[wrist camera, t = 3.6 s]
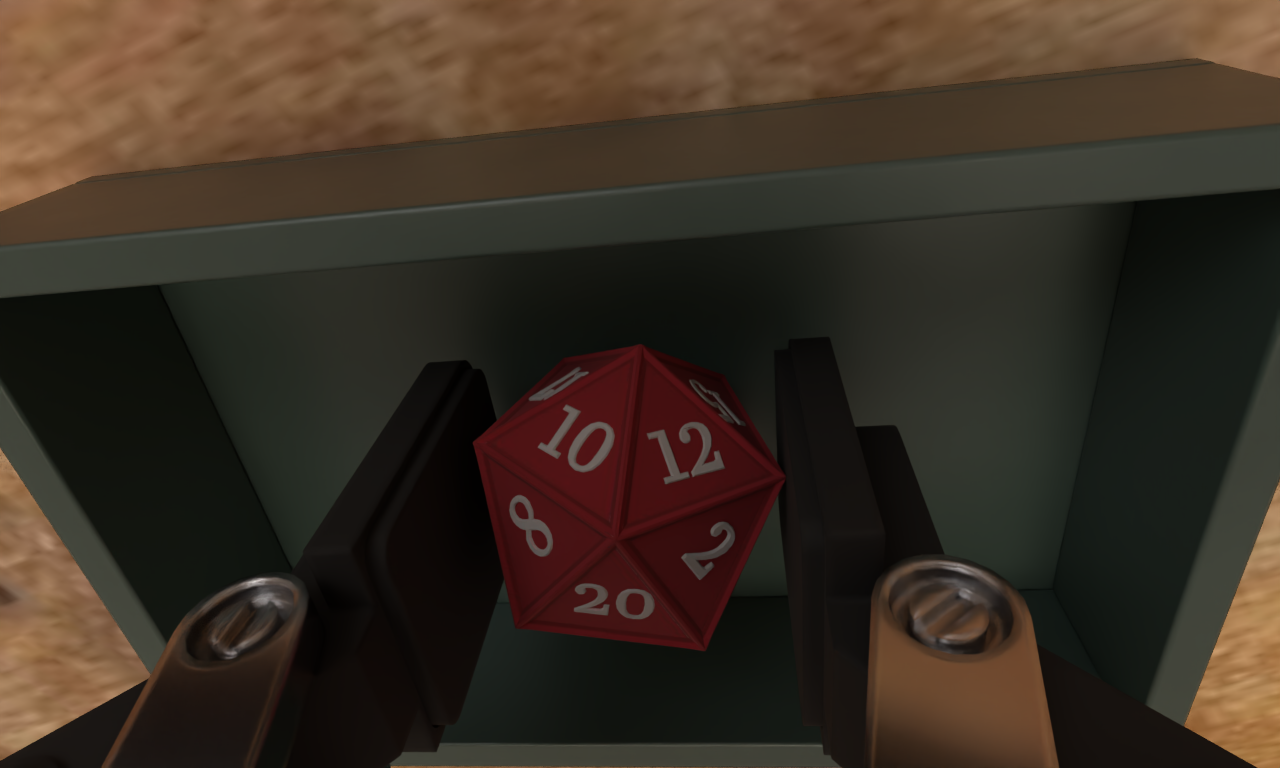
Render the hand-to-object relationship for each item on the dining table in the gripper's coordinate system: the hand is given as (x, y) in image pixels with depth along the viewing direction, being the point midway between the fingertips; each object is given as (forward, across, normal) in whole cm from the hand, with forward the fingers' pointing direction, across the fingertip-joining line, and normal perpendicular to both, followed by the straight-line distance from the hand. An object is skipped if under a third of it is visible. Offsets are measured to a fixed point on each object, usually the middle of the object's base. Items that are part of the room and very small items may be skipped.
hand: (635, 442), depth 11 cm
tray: (+2, 0, 0) cm, 2 cm away
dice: (+1, 0, 0) cm, 1 cm away
